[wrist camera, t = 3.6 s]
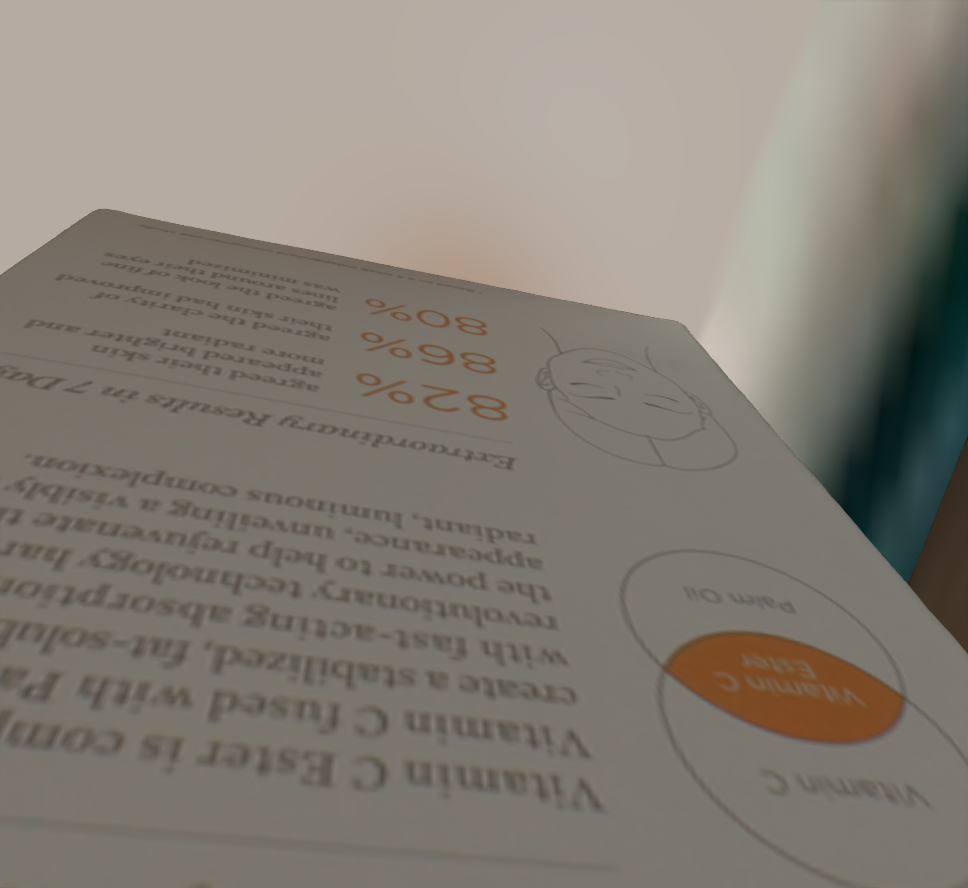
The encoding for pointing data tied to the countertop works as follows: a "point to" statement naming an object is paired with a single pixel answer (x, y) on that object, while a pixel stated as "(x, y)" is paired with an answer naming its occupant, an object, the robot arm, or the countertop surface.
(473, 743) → the small box
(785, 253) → the countertop surface
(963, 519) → the walnut block
